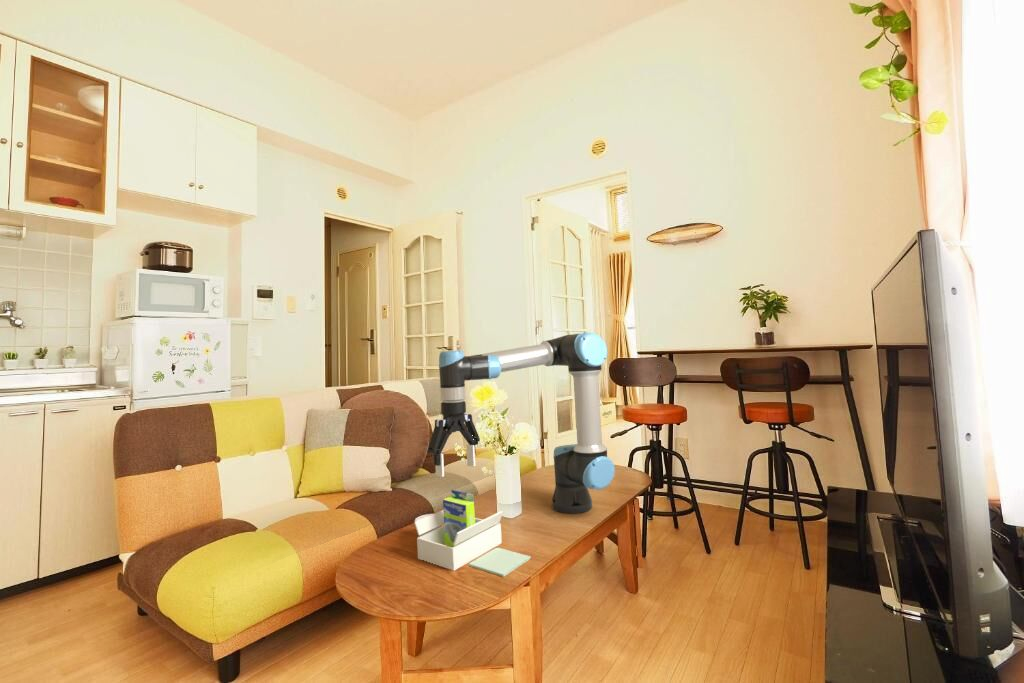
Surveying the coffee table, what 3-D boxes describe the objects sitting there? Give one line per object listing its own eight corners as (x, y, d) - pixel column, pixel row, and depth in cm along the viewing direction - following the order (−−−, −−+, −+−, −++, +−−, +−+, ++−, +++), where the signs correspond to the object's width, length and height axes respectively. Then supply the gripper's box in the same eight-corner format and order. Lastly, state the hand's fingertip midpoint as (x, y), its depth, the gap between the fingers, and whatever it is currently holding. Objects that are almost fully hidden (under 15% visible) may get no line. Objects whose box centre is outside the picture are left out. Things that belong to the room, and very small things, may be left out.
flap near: (498, 521, 144) (501, 510, 143) (499, 522, 144) (503, 511, 143) (453, 544, 128) (456, 532, 127) (454, 545, 128) (458, 533, 127)
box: (444, 549, 142) (441, 492, 142) (454, 544, 145) (451, 489, 146) (468, 557, 135) (465, 498, 136) (478, 552, 138) (475, 494, 139)
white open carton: (466, 533, 153) (465, 515, 153) (501, 543, 144) (500, 523, 144) (417, 558, 136) (416, 538, 136) (453, 570, 127) (452, 548, 128)
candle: (414, 535, 154) (413, 516, 155) (441, 530, 157) (440, 512, 157) (417, 545, 146) (416, 525, 146) (445, 540, 149) (444, 520, 149)
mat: (496, 549, 140) (496, 547, 140) (530, 558, 132) (530, 556, 132) (468, 565, 130) (468, 563, 130) (503, 576, 122) (503, 574, 122)
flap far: (464, 514, 153) (460, 502, 154) (465, 514, 153) (461, 502, 154) (418, 535, 137) (413, 522, 138) (419, 535, 137) (414, 521, 138)
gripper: (471, 396, 154) (474, 460, 153) (413, 405, 134) (416, 479, 133) (488, 397, 149) (491, 463, 148) (431, 406, 129) (434, 482, 129)
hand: (456, 470), depth 141 cm, fingers open, 13 cm apart
